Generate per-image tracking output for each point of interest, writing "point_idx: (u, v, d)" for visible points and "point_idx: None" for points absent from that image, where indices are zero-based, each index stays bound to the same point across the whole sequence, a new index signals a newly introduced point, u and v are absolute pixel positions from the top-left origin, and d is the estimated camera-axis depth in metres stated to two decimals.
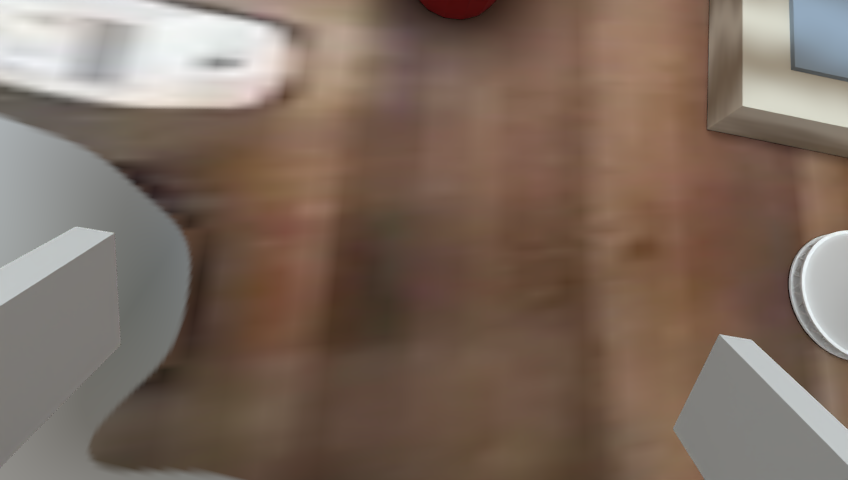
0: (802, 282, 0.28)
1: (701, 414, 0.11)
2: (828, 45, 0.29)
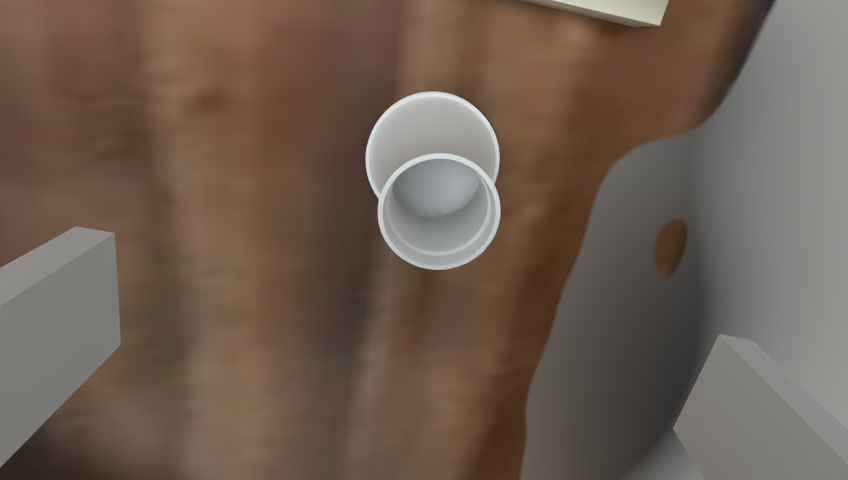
0: (367, 148, 0.28)
1: (701, 414, 0.11)
2: None
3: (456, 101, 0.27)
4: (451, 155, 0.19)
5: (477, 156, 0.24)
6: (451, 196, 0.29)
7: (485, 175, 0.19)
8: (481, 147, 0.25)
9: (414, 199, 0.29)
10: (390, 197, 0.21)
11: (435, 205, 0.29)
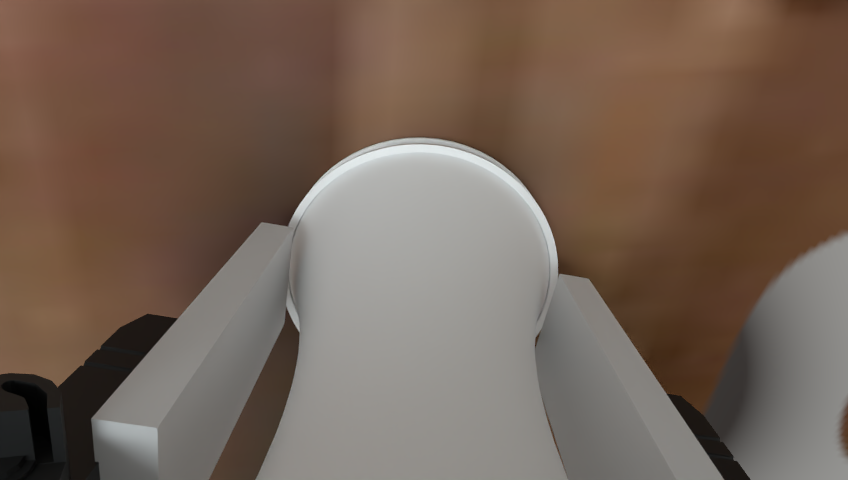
0: None
1: (545, 345, 0.12)
2: None
3: (467, 161, 0.12)
4: None
5: (522, 320, 0.09)
6: None
7: None
8: (526, 275, 0.11)
9: None
10: None
11: None
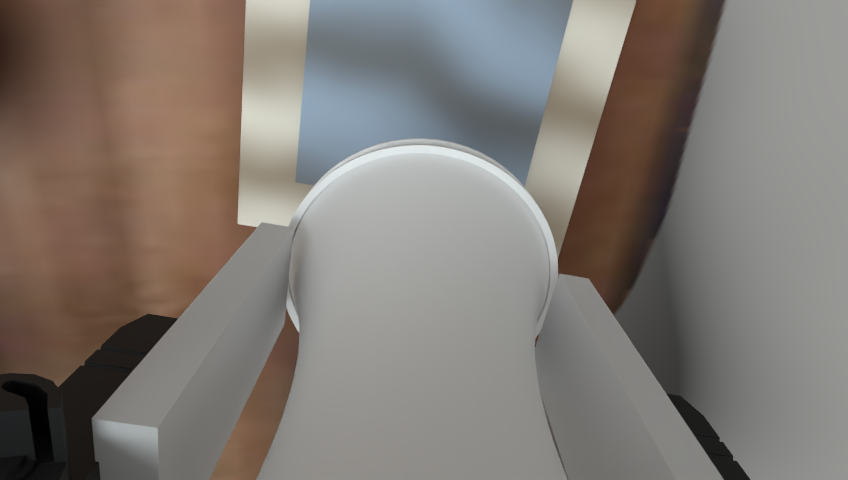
0: None
1: (545, 344, 0.12)
2: (340, 153, 0.26)
3: (467, 162, 0.12)
4: None
5: (522, 321, 0.09)
6: None
7: None
8: (526, 276, 0.11)
9: None
10: None
11: None
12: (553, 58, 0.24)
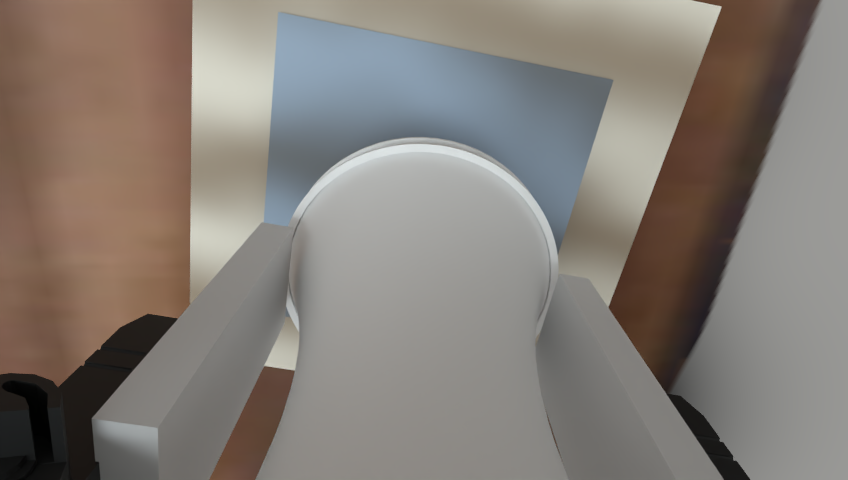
0: None
1: (545, 344, 0.12)
2: None
3: (467, 161, 0.12)
4: None
5: (523, 320, 0.09)
6: None
7: None
8: (527, 274, 0.11)
9: None
10: None
11: None
12: (576, 177, 0.19)
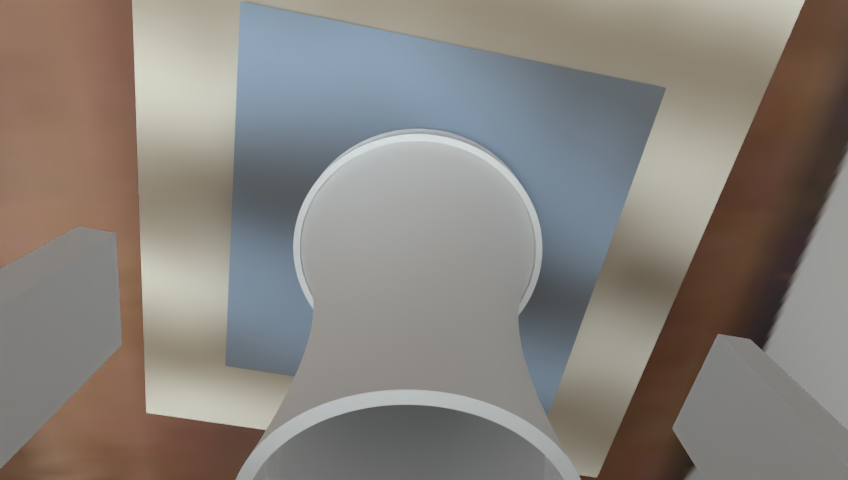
0: (295, 236, 0.15)
1: (700, 413, 0.11)
2: (289, 330, 0.17)
3: (460, 149, 0.14)
4: (441, 395, 0.06)
5: (506, 282, 0.11)
6: None
7: (549, 445, 0.06)
8: (512, 247, 0.13)
9: None
10: None
11: None
12: (615, 207, 0.15)
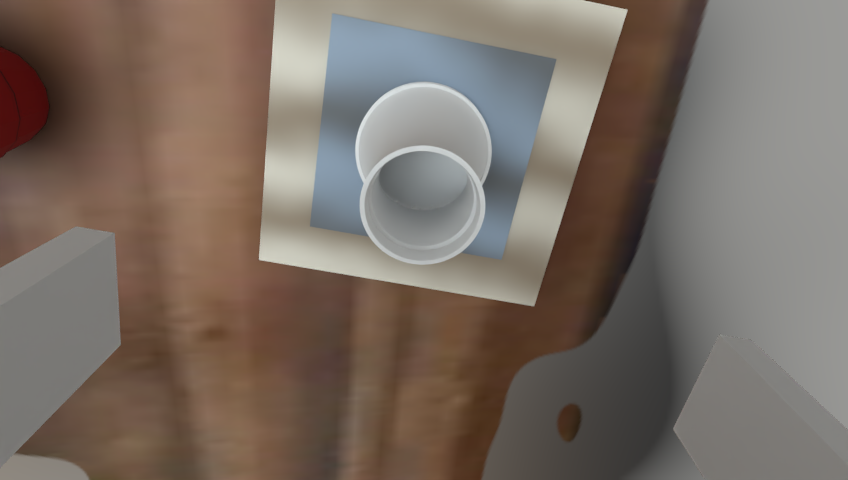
0: (356, 141, 0.27)
1: (701, 414, 0.11)
2: (348, 203, 0.29)
3: (446, 91, 0.26)
4: (433, 147, 0.18)
5: (466, 148, 0.23)
6: (444, 189, 0.28)
7: (469, 167, 0.18)
8: (471, 138, 0.25)
9: (405, 192, 0.28)
10: (374, 191, 0.21)
11: (427, 198, 0.28)
12: (533, 127, 0.28)
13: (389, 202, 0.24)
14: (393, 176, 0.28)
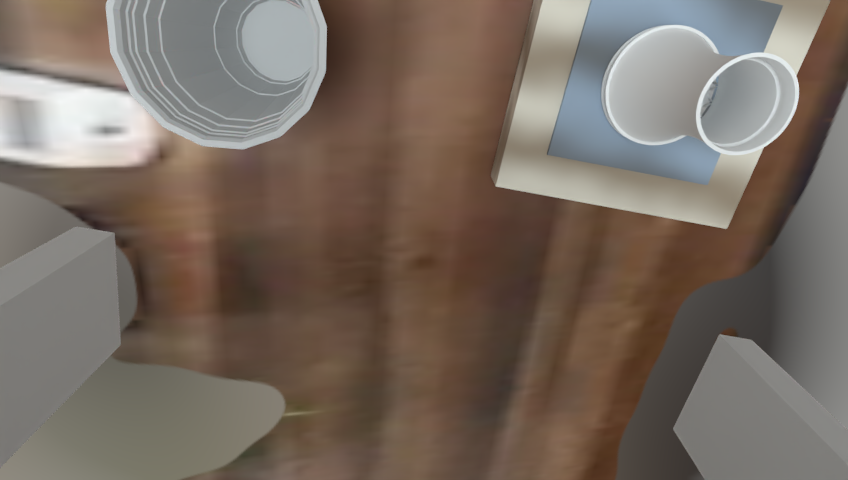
0: (609, 75, 0.32)
1: (701, 414, 0.11)
2: (585, 133, 0.34)
3: (692, 32, 0.31)
4: (768, 54, 0.23)
5: None
6: None
7: (792, 71, 0.23)
8: None
9: None
10: None
11: None
12: None
13: None
14: None
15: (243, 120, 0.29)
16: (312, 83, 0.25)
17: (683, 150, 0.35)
